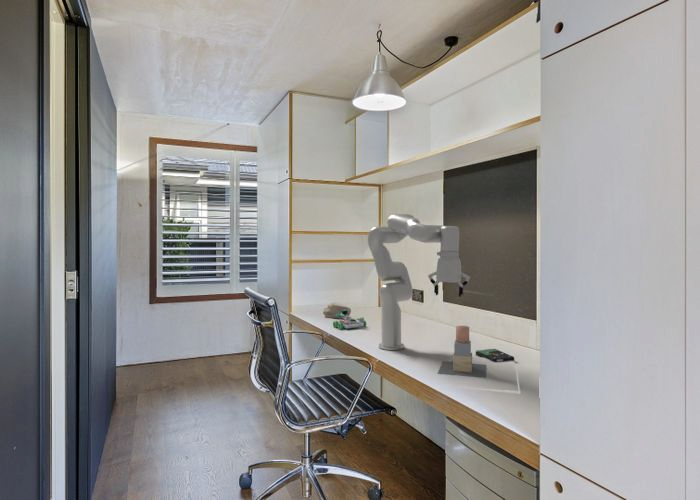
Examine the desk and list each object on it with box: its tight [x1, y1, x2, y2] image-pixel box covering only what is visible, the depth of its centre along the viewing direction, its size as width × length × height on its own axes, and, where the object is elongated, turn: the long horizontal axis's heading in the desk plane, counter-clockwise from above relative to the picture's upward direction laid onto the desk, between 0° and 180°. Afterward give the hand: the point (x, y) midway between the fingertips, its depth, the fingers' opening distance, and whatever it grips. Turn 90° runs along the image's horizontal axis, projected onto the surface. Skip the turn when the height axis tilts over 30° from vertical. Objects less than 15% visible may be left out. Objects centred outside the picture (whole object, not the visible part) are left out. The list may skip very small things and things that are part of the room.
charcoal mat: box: [436, 360, 488, 379], centre depth 177 cm, size 18×18×1 cm
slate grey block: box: [453, 339, 472, 357], centre depth 176 cm, size 6×6×5 cm
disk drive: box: [475, 348, 515, 363], centre depth 195 cm, size 10×3×15 cm
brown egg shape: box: [455, 325, 470, 343], centre depth 176 cm, size 5×5×6 cm
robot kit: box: [332, 310, 367, 331], centre depth 269 cm, size 19×25×9 cm
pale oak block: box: [452, 352, 473, 372], centre depth 177 cm, size 7×7×6 cm
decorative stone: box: [322, 302, 352, 320], centre depth 296 cm, size 20×8×10 cm, turn 57°
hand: (448, 295), depth 186 cm, fingers open, 9 cm apart
